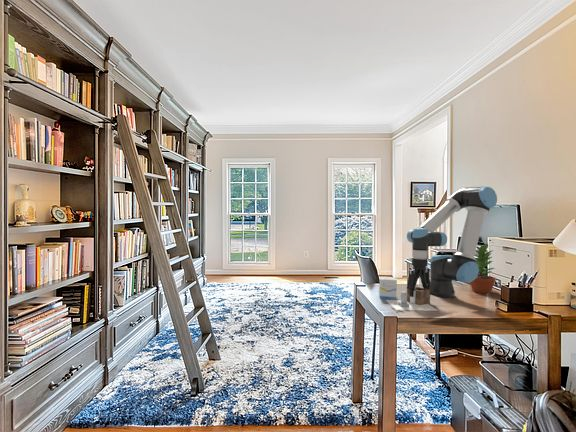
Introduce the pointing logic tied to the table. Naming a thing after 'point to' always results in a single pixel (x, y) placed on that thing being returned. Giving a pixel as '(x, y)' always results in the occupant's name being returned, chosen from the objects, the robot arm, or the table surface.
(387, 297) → the ink box
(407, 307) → the hub board
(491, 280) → the potted plant
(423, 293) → the wooden cubby shelf
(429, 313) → the table surface
